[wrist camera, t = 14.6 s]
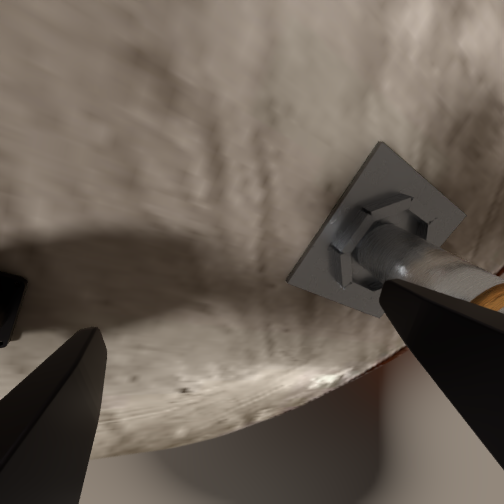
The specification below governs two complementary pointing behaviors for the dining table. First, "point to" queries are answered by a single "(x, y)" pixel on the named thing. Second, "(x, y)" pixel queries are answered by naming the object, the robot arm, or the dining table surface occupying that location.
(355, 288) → the flange
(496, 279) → the grey cylindrical piece
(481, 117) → the dining table surface
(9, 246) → the dining table surface
